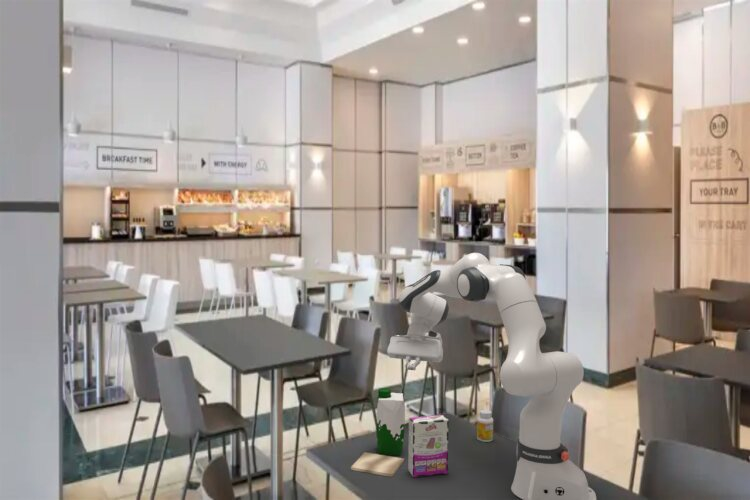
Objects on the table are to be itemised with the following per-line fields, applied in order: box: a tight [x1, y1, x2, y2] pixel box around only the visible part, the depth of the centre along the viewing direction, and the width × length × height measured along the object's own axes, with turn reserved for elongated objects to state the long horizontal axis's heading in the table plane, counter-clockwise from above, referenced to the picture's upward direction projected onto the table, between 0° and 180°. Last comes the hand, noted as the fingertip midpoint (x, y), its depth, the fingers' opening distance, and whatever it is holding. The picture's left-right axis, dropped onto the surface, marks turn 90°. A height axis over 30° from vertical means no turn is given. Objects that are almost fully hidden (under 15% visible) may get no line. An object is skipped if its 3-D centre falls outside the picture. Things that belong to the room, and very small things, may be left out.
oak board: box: [350, 452, 405, 478], centre depth 183 cm, size 13×12×1 cm
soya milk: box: [375, 387, 406, 456], centre depth 194 cm, size 9×9×20 cm
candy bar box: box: [407, 414, 449, 478], centre depth 178 cm, size 11×5×16 cm, turn 105°
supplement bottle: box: [476, 409, 494, 443], centre depth 206 cm, size 5×5×10 cm
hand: (410, 369), depth 213 cm, fingers closed
